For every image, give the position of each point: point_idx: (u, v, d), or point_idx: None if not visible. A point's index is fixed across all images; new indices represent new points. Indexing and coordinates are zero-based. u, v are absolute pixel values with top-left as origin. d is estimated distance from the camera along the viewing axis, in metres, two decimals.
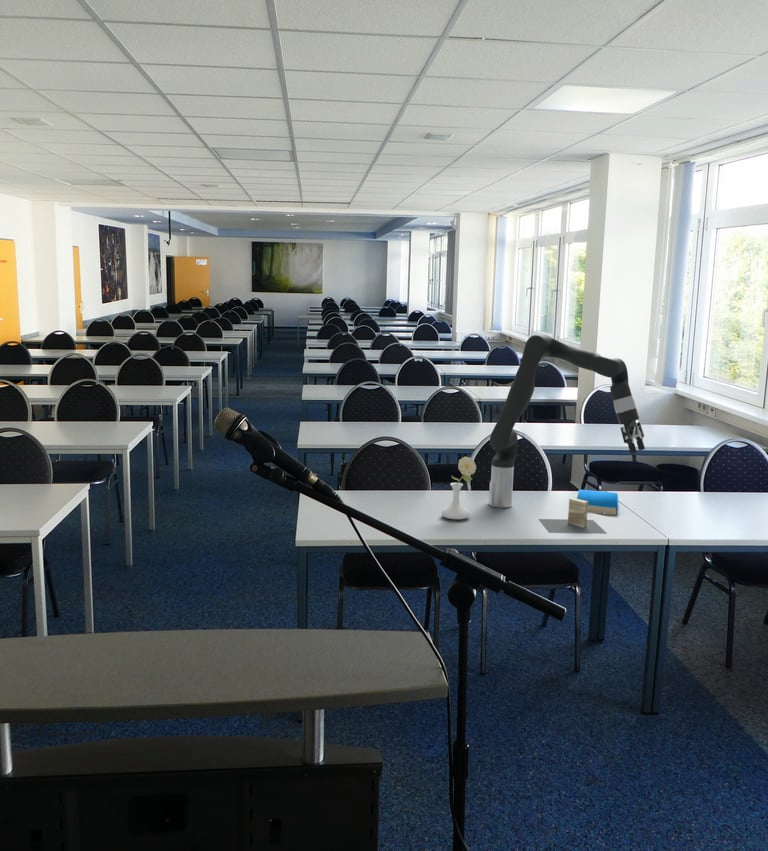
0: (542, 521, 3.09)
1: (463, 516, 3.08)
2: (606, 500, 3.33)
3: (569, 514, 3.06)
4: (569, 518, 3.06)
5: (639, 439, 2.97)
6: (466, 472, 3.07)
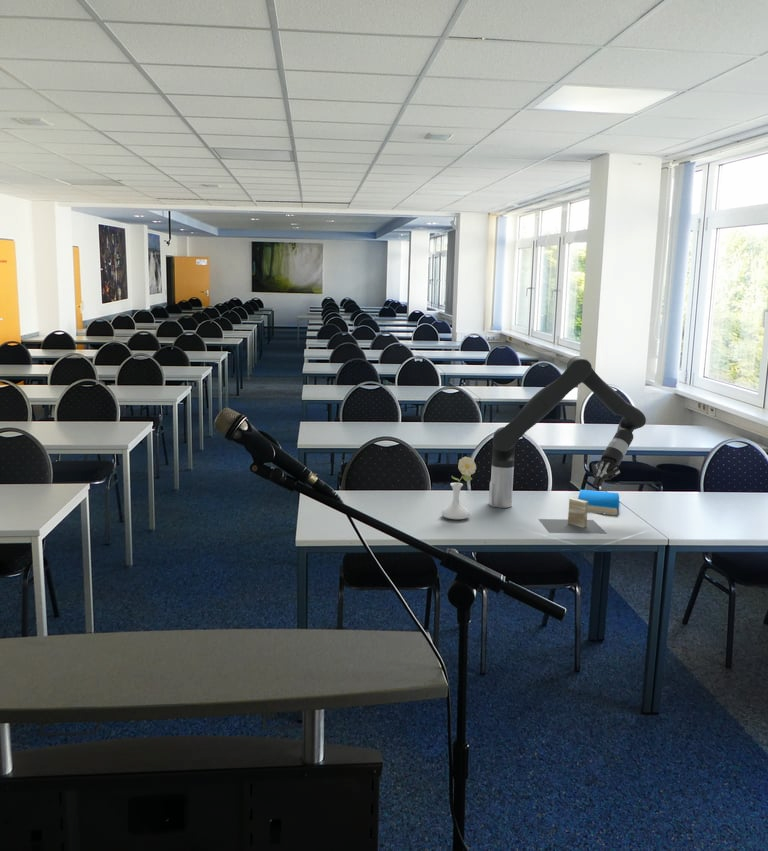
0: (542, 521, 3.09)
1: (463, 516, 3.08)
2: (607, 500, 3.32)
3: (569, 514, 3.06)
4: (569, 518, 3.06)
5: None
6: (466, 472, 3.07)
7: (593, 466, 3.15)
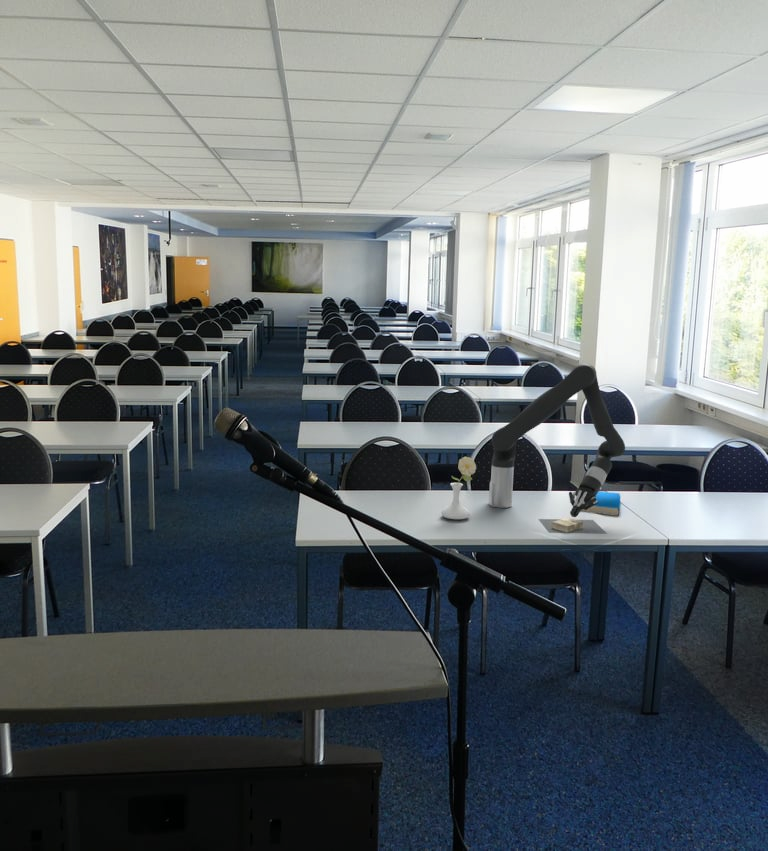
0: (542, 521, 3.09)
1: (463, 516, 3.08)
2: (608, 500, 3.32)
3: None
4: None
5: None
6: (466, 472, 3.07)
7: (570, 495, 3.08)
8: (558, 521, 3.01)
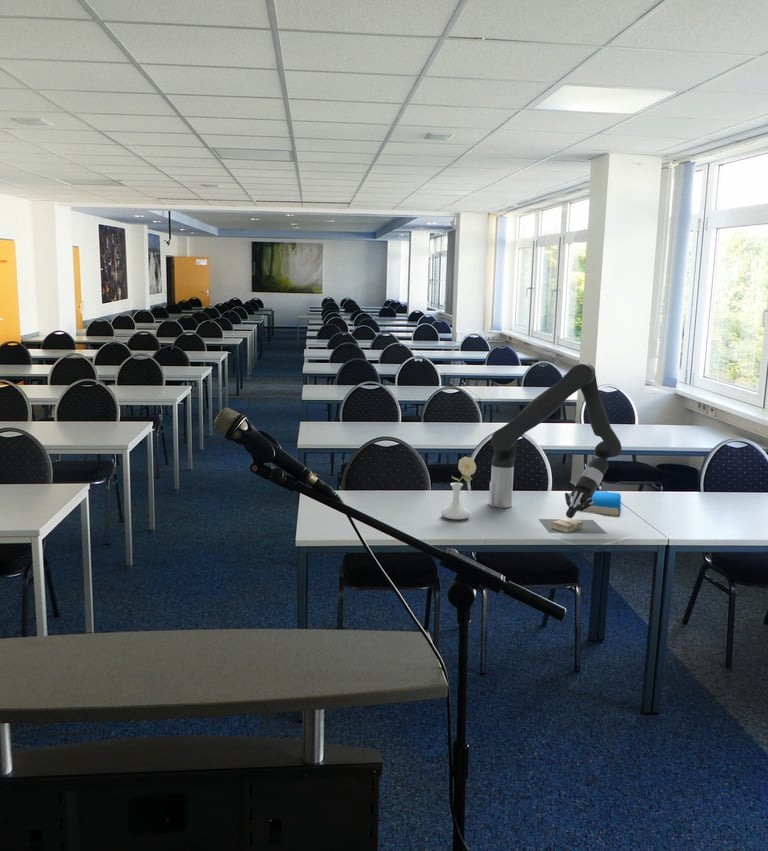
0: (542, 521, 3.09)
1: (463, 516, 3.08)
2: (609, 500, 3.32)
3: None
4: None
5: None
6: (466, 472, 3.07)
7: (566, 496, 3.06)
8: (558, 521, 3.01)
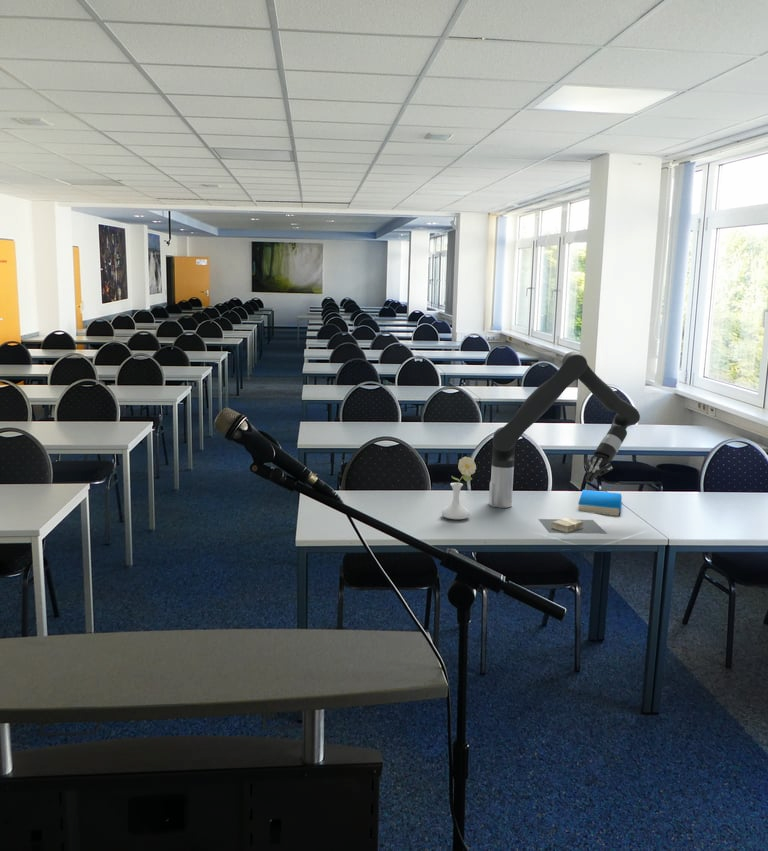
0: (542, 521, 3.09)
1: (463, 516, 3.08)
2: (609, 500, 3.32)
3: None
4: None
5: None
6: (466, 472, 3.07)
7: (586, 461, 3.16)
8: (558, 521, 3.01)
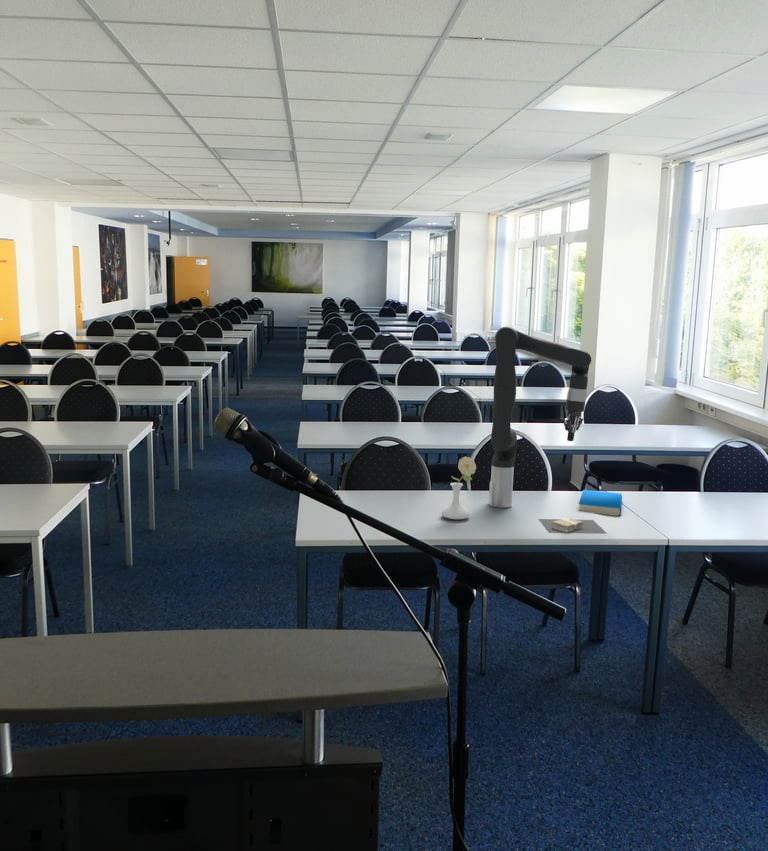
0: (542, 521, 3.09)
1: (463, 516, 3.08)
2: (610, 500, 3.32)
3: None
4: None
5: None
6: (466, 472, 3.07)
7: None
8: (558, 521, 3.01)
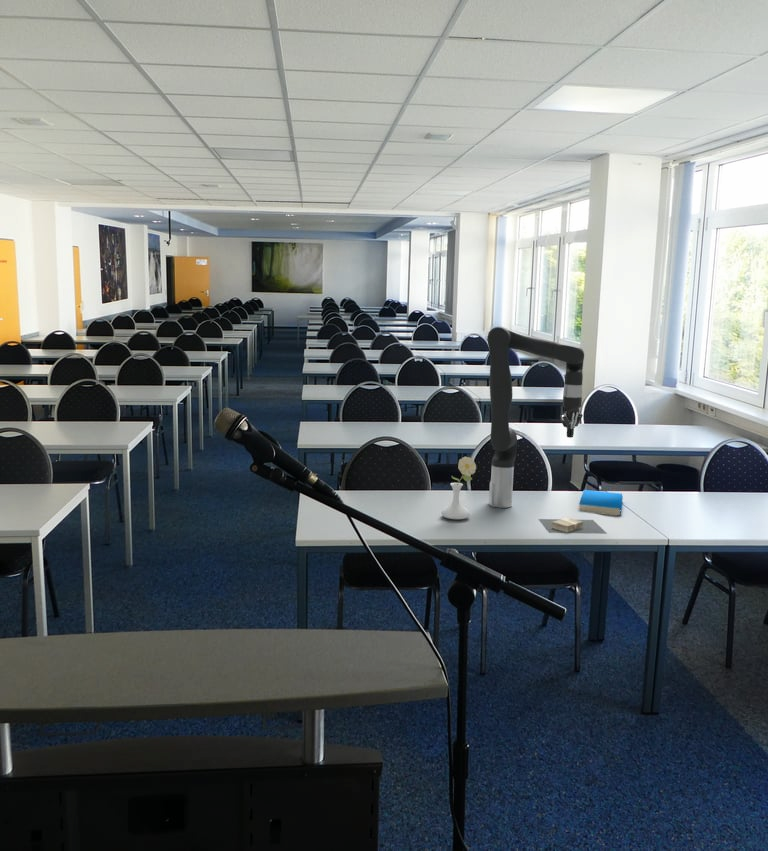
0: (542, 521, 3.09)
1: (463, 516, 3.08)
2: (610, 500, 3.32)
3: None
4: None
5: None
6: (466, 472, 3.07)
7: None
8: (558, 521, 3.01)
